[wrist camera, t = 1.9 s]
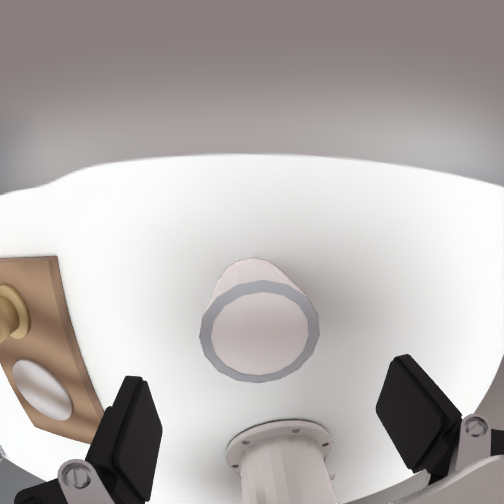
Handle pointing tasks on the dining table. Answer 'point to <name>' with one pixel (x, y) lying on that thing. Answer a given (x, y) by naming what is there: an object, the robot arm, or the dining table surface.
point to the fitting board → (44, 350)
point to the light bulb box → (1, 453)
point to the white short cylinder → (258, 323)
